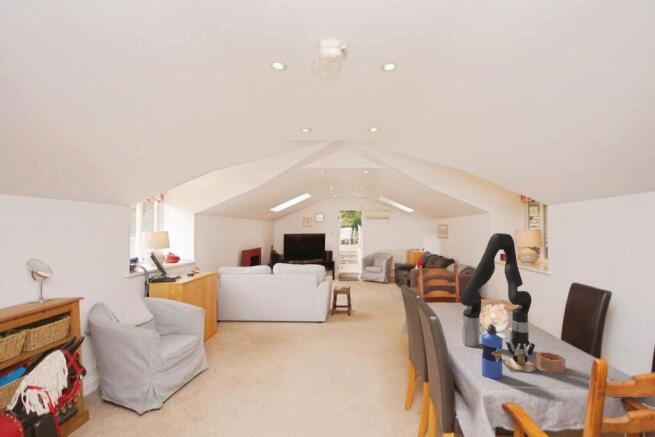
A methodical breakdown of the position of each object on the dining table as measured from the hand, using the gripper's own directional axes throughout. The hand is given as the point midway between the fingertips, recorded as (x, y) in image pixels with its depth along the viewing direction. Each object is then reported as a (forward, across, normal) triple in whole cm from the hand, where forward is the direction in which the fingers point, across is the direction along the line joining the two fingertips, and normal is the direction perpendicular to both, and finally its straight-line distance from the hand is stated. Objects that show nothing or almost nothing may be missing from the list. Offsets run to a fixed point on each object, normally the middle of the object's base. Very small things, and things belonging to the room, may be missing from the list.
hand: (520, 362), depth 172 cm
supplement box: (+3, +7, +22) cm, 23 cm away
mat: (+3, 0, 0) cm, 3 cm away
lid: (+2, 0, 0) cm, 2 cm away
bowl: (+3, +15, +1) cm, 15 cm away
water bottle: (+3, -18, -12) cm, 22 cm away
